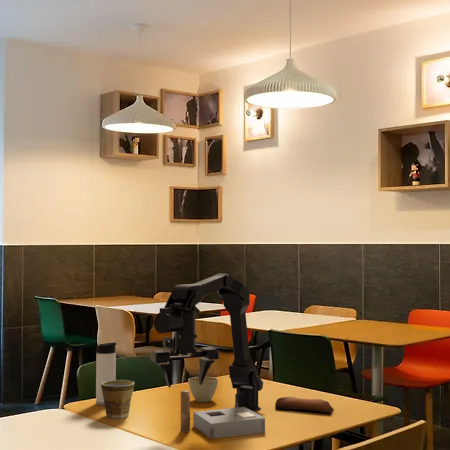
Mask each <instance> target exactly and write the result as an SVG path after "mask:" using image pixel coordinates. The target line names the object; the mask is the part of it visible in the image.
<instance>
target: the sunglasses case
mask: <svg viewBox="0 0 450 450" xmlns="http://www.w3.org/2000/svg"><path fill="white" fill-rule="evenodd" d="M274 409H275V410H277V409H278V410H280V409H281V410H284V409H286V410H293V409H295V410H300V411H311V412H319V413H320V412H321V413H326V414H328V413H329V415H332V414H333V412H334V411H335V408H334V407H333V406H331V404H330V402H329V401H326V400H324V399H321V398H302V397H296V396H295V397H294V396H282V397H278V399H276V401H275V404H274Z"/></svg>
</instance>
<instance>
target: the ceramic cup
mask: <svg viewBox="0 0 450 450" xmlns="http://www.w3.org/2000/svg"><path fill="white" fill-rule="evenodd" d="M134 387H135V381H133V380H128V379H116V380H110V381H105V382H103V383H101V388H102V394H103V398H104V404H105V406H104V409H105V410H104V411H105V416H106V418H109V419H113V420H115V419H119V420H121V419H126V418H128V417H129V414H130V410H131V409H130V408H131V403H132V402H131V401H132V398H133V393H134Z"/></svg>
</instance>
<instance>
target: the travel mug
mask: <svg viewBox="0 0 450 450" xmlns="http://www.w3.org/2000/svg"><path fill="white" fill-rule="evenodd" d="M116 346H117V342H116V341H115V342H107V343H101V344H99V345H96V352H95V353H96V356H95V357H96V359H95V361H96V362H95V363H96V365H95V366H96V367H95V368H96V370H95V373H96V374H95V376H96V377H95V380H96V381H95V397H96V399H95V404H96V405H97V406H104V407H105V404H104V398H103V394H102V388H101V383H103V382H105V381H110V380H117V378H116V375H117V374H116V365H117V363H116V361H117V359H116V358H117V356H116V352H117V351H116Z"/></svg>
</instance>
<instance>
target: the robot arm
mask: <svg viewBox="0 0 450 450" xmlns="http://www.w3.org/2000/svg"><path fill="white" fill-rule="evenodd" d="M215 292H216V293H217V294H218V295H219V297H220V298H221V299H222V305H223V308H225V310H226V311H227V313H228V314H229V319H230V331H231V339H232V340H231V341H232V348H233V350H232V351H233V361H232V363H231V364H230V365H228V373H229V377H228V378H229V379H230V383H231V386H232V389H236V393H235V394H234V395H235V396H234V397H235V398H234V401H235V402H234V408H238V407H245V408H247V409H249V410H251V411H257V410H261V407H260V406H259V392H261V391H262V390H263V386H264V382H263V379H262V378H261V377H260V375H259V374H258V368H257V366H256V363H255V362H254V360H253V359H252V358H251V353H250V343H249V334H248V324H247V316H246V313H247V310H248V308H249V306H250V303H251V301H250V300H251V299H250V296H251V294H250V291H249V288H247V286H245V285H244V283H242V282H240V281H239V280H237V279H236V278H234V277H233V276H232V275H231V274H228V273H216V274H214V275H213V276H210V277H208V278H204V279H202V280H200V281H197V282H195V283H189V284H188V283H185V284H175V286H173V288H172V290H171V293H170V294H169V297H168V299H167V301H166V303H165V305H164V307H160V308H159V312H157V314H156V315H155V317H154V319H153V327H154V329H155V331H156V332H157V333H159V334H162V335H163V334H164V335H165V334H168V333H173V338H171V336H163V338H162V349H157V350H156V349H155V350H152V351H151V353H150V359H149V360H150V361H151V362H153V363H154V364H156V365H157V366H159V367H160V368H161V370H162V373H163V375H164V376H163V377H164V378H165V381H166V384H167V387H168V388H171V385H172V363H170V361H171V360H178V359H179V360H180V359H181V360H182V359H191V358H192V359H193V358H195V359H196V358H198V363H199V370H198V371H199V373H198V377H199V385H202V383H203V380H204V378H205V377H207V373H208V371H209V369H210V367H211V366H212V364H213V363H215V362H216V360H220V351H219V350H218V348H214V347H212V346H206V347H205V346H204V347H200V348H199V350H197V348H196V339H197V338H198V336H197V335H198V334H196V314H199V313H201V310H200V309H199V308H198V307H197V306H196V305H198V304H199V303H200V302H202V301H203V298H204V297H206V296H208V295H210V294H213V293H215ZM167 350H168V351H167Z"/></svg>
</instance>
